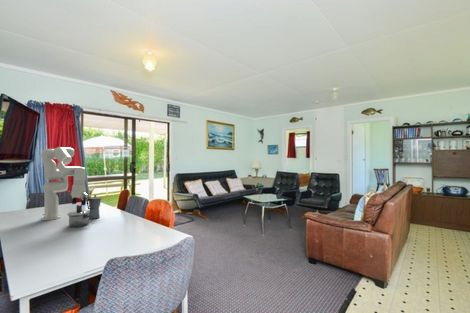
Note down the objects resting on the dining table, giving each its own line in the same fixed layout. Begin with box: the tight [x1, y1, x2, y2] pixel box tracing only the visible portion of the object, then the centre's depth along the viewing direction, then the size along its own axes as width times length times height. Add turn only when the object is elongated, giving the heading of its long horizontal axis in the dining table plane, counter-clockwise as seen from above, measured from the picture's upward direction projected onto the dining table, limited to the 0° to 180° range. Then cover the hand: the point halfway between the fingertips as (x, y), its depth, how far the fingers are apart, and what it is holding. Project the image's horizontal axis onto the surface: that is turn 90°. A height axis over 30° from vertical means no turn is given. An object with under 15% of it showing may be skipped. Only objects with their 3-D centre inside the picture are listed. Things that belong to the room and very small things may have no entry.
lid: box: [67, 204, 90, 217], centre depth 179 cm, size 14×14×6 cm
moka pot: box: [86, 194, 102, 220], centre depth 200 cm, size 10×15×20 cm, turn 174°
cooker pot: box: [67, 213, 91, 229], centre depth 179 cm, size 21×13×9 cm, turn 72°
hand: (78, 204), depth 179 cm, fingers open, 9 cm apart
